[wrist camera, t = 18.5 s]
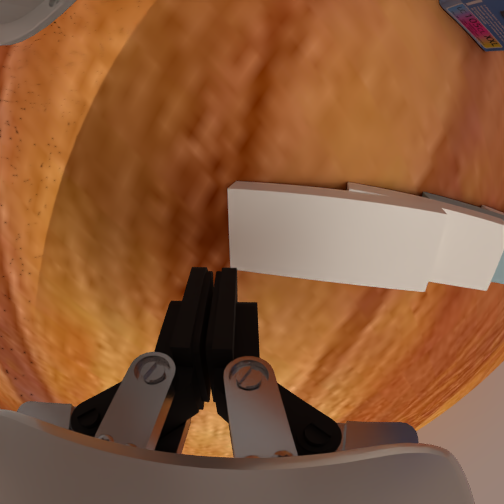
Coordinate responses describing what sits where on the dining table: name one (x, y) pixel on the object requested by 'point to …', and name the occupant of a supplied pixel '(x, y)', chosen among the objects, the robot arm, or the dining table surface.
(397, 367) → the dining table surface
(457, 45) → the dining table surface
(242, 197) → the domino
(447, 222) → the domino
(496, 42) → the ink cartridge box
